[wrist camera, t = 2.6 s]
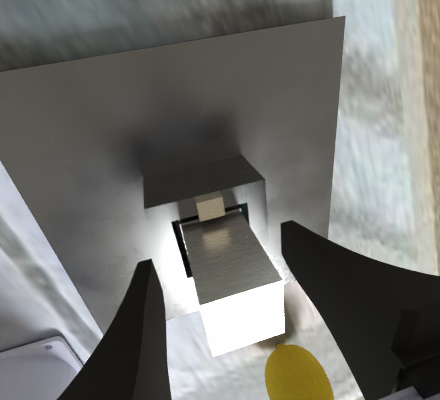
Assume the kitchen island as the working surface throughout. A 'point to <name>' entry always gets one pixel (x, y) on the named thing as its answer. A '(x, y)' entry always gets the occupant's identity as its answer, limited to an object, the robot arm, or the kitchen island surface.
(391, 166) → the kitchen island surface
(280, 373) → the lemon
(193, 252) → the post
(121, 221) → the stand base
